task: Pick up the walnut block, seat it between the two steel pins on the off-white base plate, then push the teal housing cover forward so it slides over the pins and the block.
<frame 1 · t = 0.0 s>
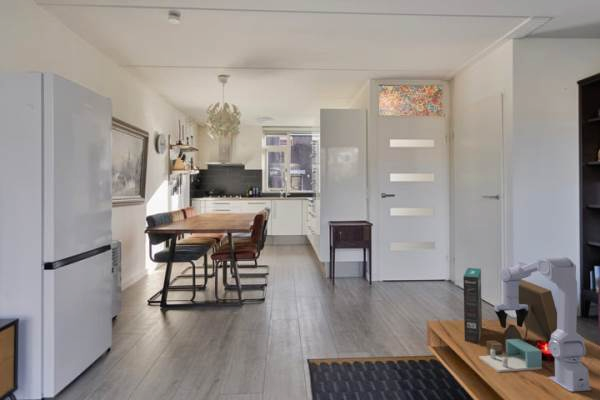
hand: (511, 326, 155), 10 cm above the table, fingers open, 7 cm apart
photo frame: (533, 338, 168), on the table
housing cover: (523, 352, 143), point 4 cm above the table, slide at 0.0 cm
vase: (512, 345, 160), on the table
base plate: (509, 363, 143), on the table
cake mix box: (473, 334, 174), on the table
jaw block: (494, 354, 151), on the table
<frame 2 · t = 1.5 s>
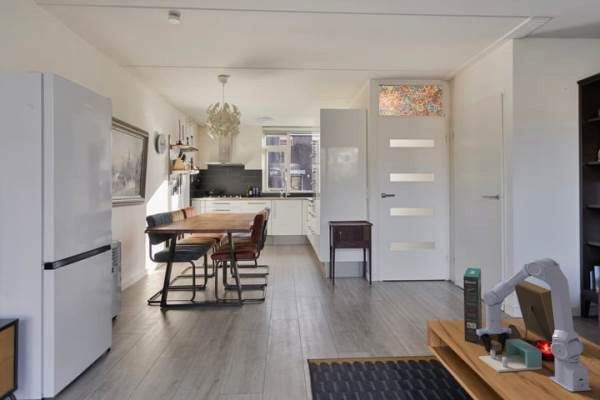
hand: (494, 351, 151), 1 cm above the table, fingers open, 5 cm apart
housing cover: (523, 352, 143), point 4 cm above the table, slide at 0.0 cm, touching gripper
everything else where it was.
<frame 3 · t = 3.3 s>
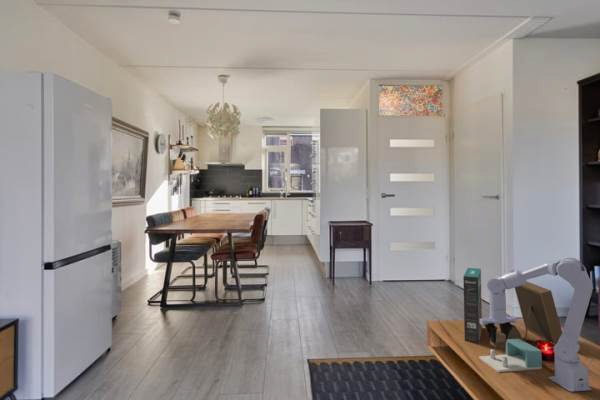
hand: (498, 341, 142), 9 cm above the table, fingers closed on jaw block, 4 cm apart
housing cover: (523, 352, 143), point 4 cm above the table, slide at 0.0 cm
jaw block: (497, 345, 143), point 7 cm above the table, touching gripper
everything else where it was.
when the fingers open (4 cm above the table, at t = 4.7 s): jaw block drops 1 cm, resting on base plate.
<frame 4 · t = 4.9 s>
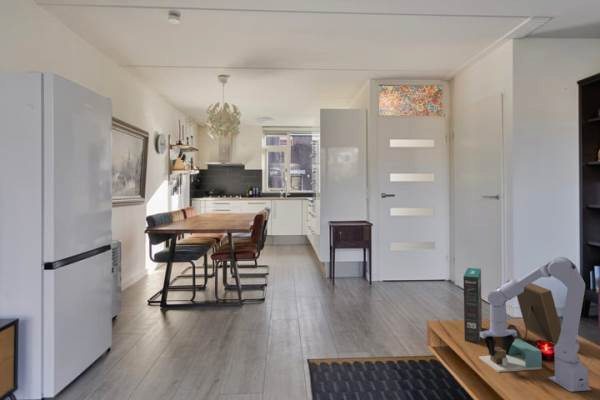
hand: (498, 354, 142), 4 cm above the table, fingers open, 5 cm apart
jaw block: (498, 361, 142), point 1 cm above the table, touching base plate
everything else where it was.
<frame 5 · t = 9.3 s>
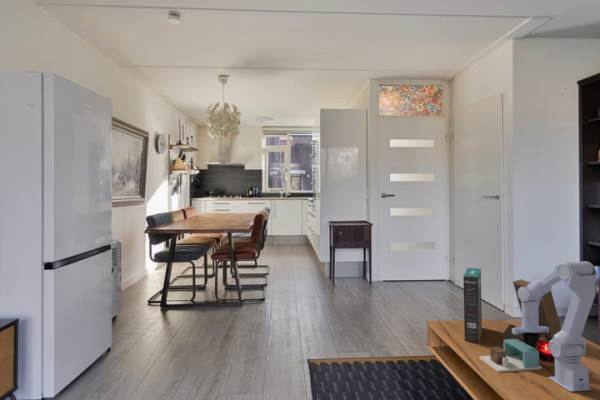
hand: (530, 350, 144), 4 cm above the table, fingers closed
housing cover: (520, 352, 143), point 4 cm above the table, slide at 1.1 cm, touching gripper
everything else where it was.
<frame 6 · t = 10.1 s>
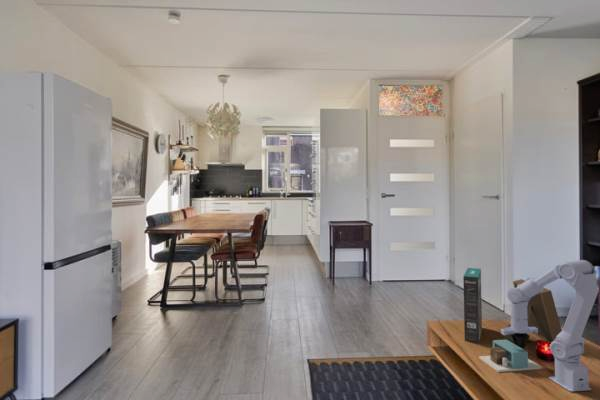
hand: (519, 351, 143), 4 cm above the table, fingers closed
housing cover: (509, 353, 143), point 4 cm above the table, slide at 5.8 cm, touching gripper
everything else where it was.
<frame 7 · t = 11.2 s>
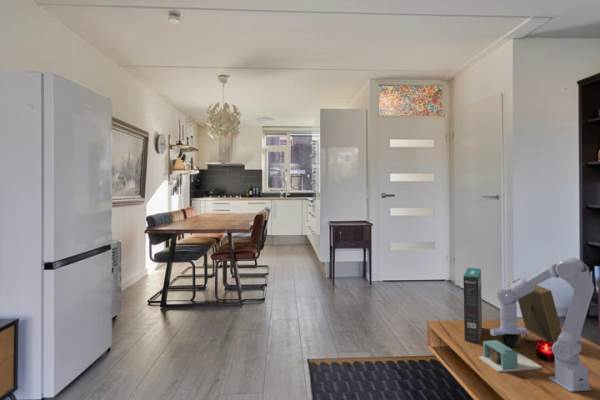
hand: (509, 352, 143), 4 cm above the table, fingers closed
housing cover: (499, 354, 142), point 4 cm above the table, slide at 10.1 cm, touching gripper
everything else where it was.
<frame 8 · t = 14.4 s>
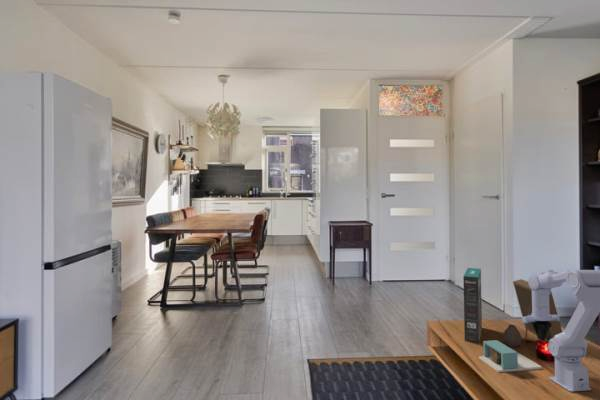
hand: (541, 339, 141), 10 cm above the table, fingers closed
housing cover: (499, 354, 142), point 4 cm above the table, slide at 10.0 cm
everything else where it was.
at the end: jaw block 0.3 cm from the target spot on the base plate, point 0.8 cm above the base plate's base; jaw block tilted 0°; housing cover slide at 10.0 cm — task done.
